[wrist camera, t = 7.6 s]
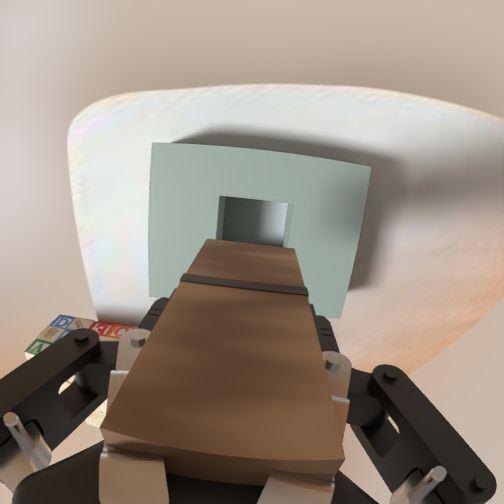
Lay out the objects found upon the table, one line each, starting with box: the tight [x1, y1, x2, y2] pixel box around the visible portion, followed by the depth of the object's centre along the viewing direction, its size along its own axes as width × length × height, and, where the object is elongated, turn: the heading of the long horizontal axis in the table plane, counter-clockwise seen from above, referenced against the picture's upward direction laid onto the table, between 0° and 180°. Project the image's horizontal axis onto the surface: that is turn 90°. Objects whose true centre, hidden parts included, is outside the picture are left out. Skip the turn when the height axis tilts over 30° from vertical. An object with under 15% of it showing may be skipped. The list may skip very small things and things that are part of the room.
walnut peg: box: [99, 239, 345, 486], centre depth 11 cm, size 5×5×12 cm
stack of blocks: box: [24, 315, 138, 427], centre depth 30 cm, size 21×6×12 cm, turn 88°
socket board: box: [148, 143, 372, 319], centre depth 28 cm, size 18×14×5 cm
